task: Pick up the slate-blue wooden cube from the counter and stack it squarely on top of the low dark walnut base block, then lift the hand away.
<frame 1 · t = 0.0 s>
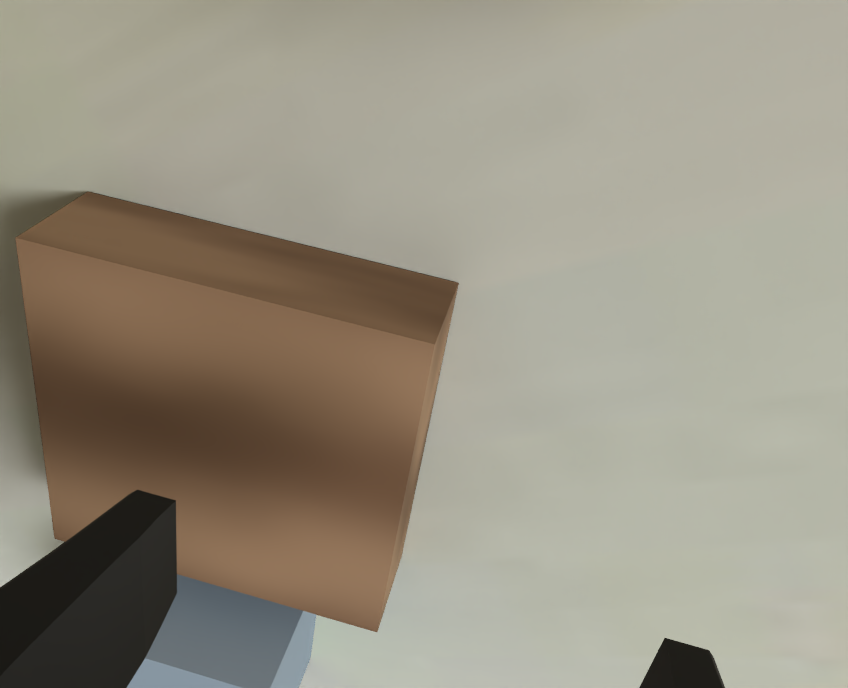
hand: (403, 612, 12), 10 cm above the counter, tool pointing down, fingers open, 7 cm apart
slate-blue cube: (249, 592, 28), on the counter
walnut base: (259, 391, 23), on the counter
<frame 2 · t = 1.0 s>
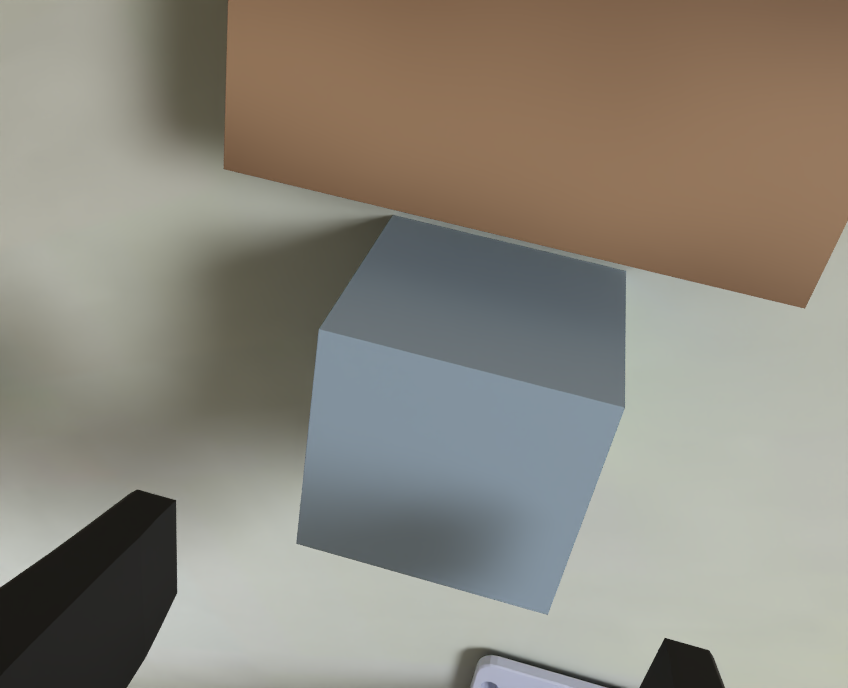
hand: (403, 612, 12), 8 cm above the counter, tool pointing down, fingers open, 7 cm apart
slate-blue cube: (484, 339, 18), on the counter
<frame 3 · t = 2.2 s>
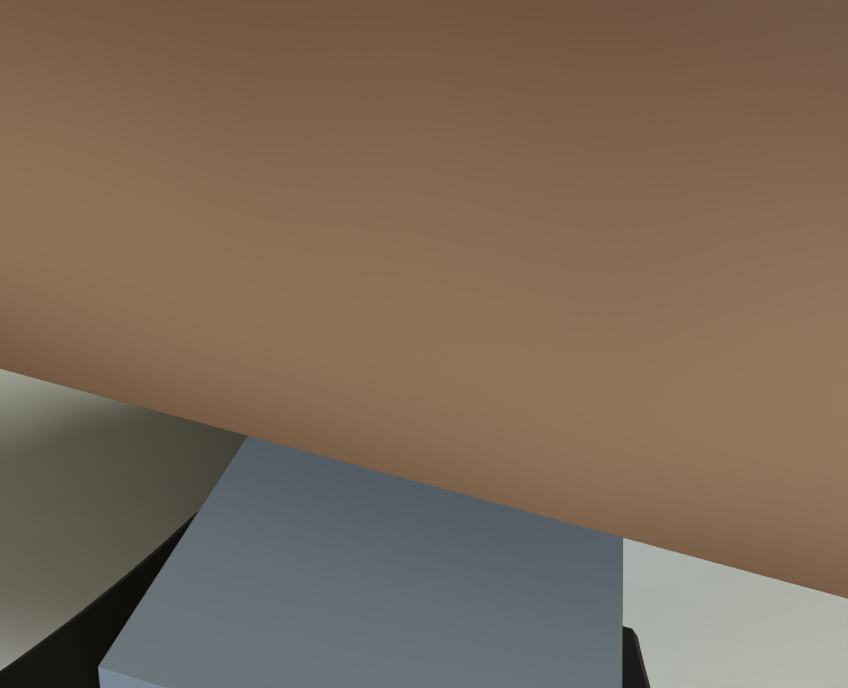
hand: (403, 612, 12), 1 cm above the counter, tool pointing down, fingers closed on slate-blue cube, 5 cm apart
slate-blue cube: (423, 542, 13), on the counter, touching gripper
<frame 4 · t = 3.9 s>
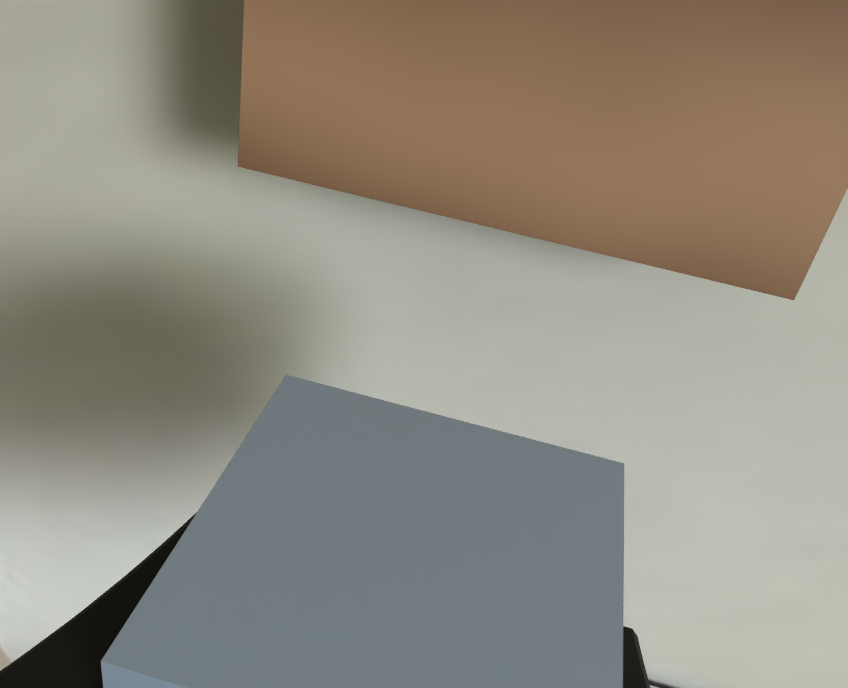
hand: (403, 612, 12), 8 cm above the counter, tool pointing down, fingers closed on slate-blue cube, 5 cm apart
slate-blue cube: (424, 539, 13), point 7 cm above the counter, touching gripper
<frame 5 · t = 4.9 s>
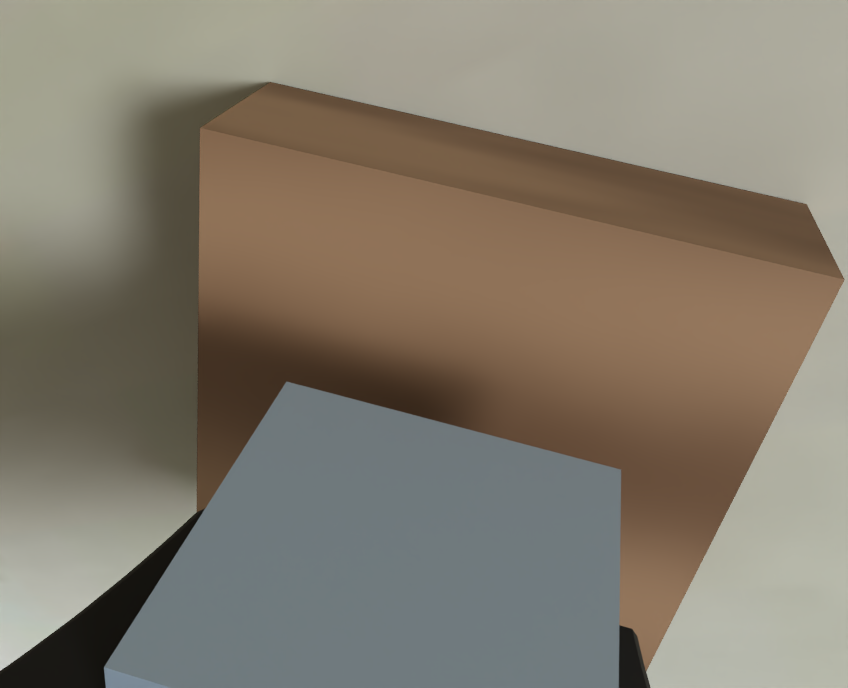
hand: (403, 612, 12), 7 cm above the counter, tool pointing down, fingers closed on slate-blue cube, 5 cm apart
slate-blue cube: (423, 543, 13), point 5 cm above the counter, touching gripper
walnut base: (476, 363, 17), on the counter
when the fingers open (5 cm above the counter, at t = 5.6 s): slate-blue cube stays where it is, resting on walnut base.
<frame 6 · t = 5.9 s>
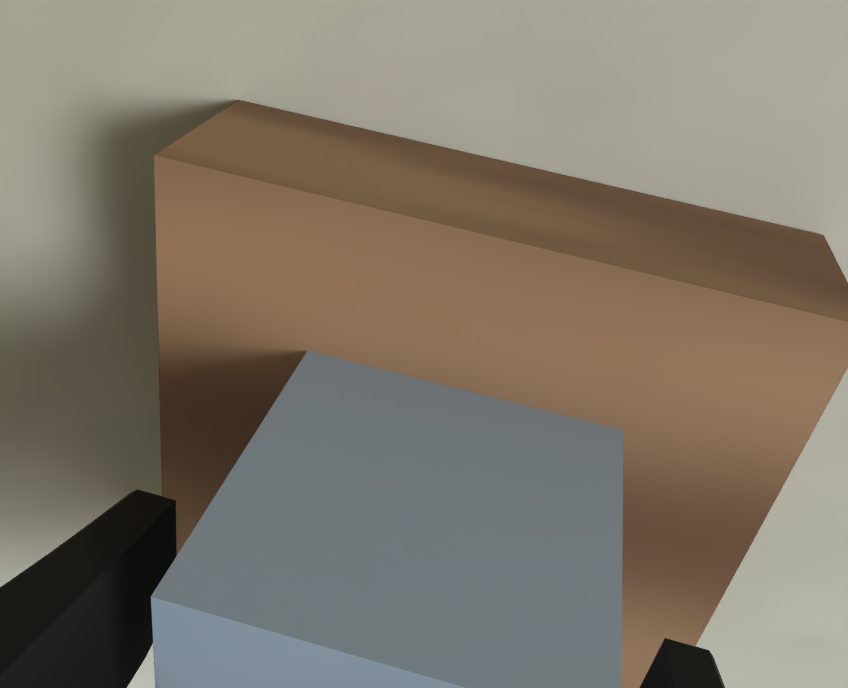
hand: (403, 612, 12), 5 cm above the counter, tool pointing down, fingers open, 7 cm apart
slate-blue cube: (436, 506, 14), point 3 cm above the counter, touching walnut base
walnut base: (465, 400, 16), on the counter
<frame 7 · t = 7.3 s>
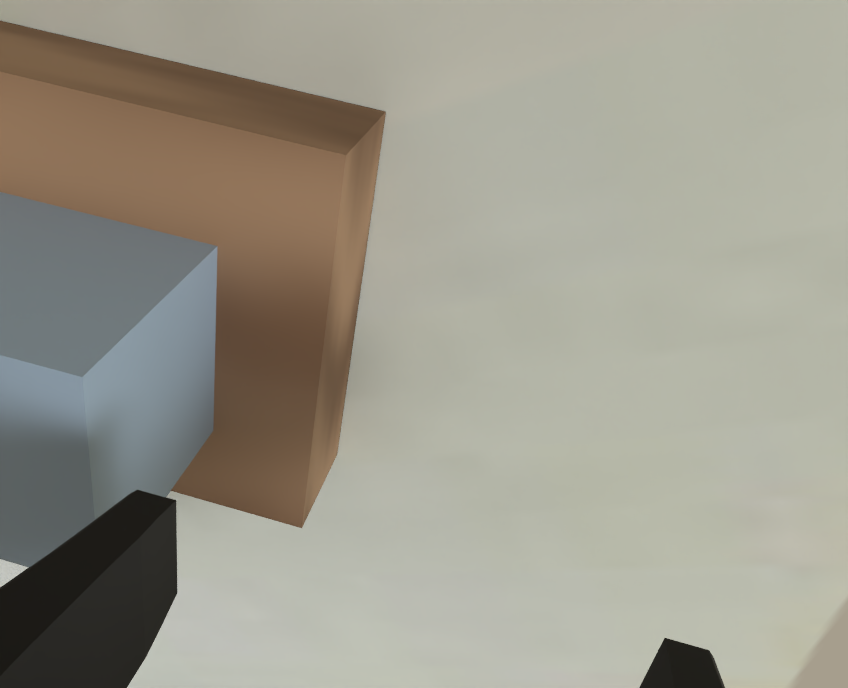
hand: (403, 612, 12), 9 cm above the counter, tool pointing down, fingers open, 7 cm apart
slate-blue cube: (111, 318, 18), point 3 cm above the counter, touching walnut base
walnut base: (172, 257, 21), on the counter
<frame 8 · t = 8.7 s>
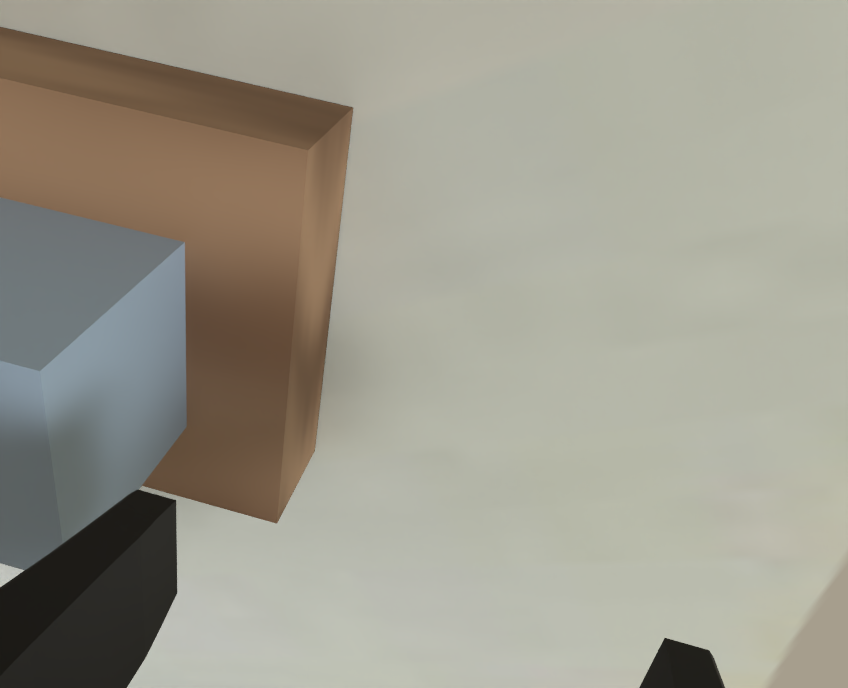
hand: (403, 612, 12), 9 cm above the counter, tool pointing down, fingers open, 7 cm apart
slate-blue cube: (83, 315, 19), point 3 cm above the counter, touching walnut base
walnut base: (146, 255, 21), on the counter
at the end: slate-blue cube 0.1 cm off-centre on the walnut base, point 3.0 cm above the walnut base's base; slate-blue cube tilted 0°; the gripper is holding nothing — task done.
